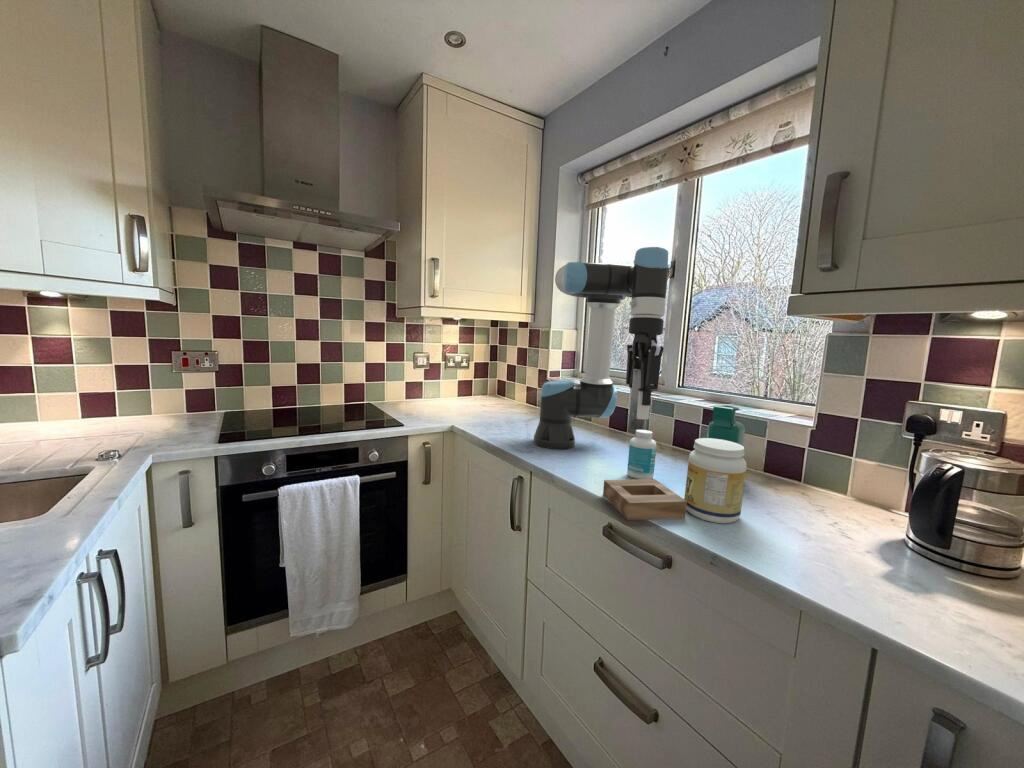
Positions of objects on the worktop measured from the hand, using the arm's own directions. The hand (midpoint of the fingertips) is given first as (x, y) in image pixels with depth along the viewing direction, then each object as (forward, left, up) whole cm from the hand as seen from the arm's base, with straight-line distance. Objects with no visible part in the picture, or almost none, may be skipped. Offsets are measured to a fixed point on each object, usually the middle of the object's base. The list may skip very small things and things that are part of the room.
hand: (638, 416), depth 98 cm
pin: (0, 0, -3) cm, 3 cm away
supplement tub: (+7, +17, -22) cm, 28 cm away
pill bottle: (-18, +12, -22) cm, 31 cm away
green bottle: (-15, +36, -22) cm, 45 cm away
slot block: (+2, +2, -22) cm, 22 cm away
